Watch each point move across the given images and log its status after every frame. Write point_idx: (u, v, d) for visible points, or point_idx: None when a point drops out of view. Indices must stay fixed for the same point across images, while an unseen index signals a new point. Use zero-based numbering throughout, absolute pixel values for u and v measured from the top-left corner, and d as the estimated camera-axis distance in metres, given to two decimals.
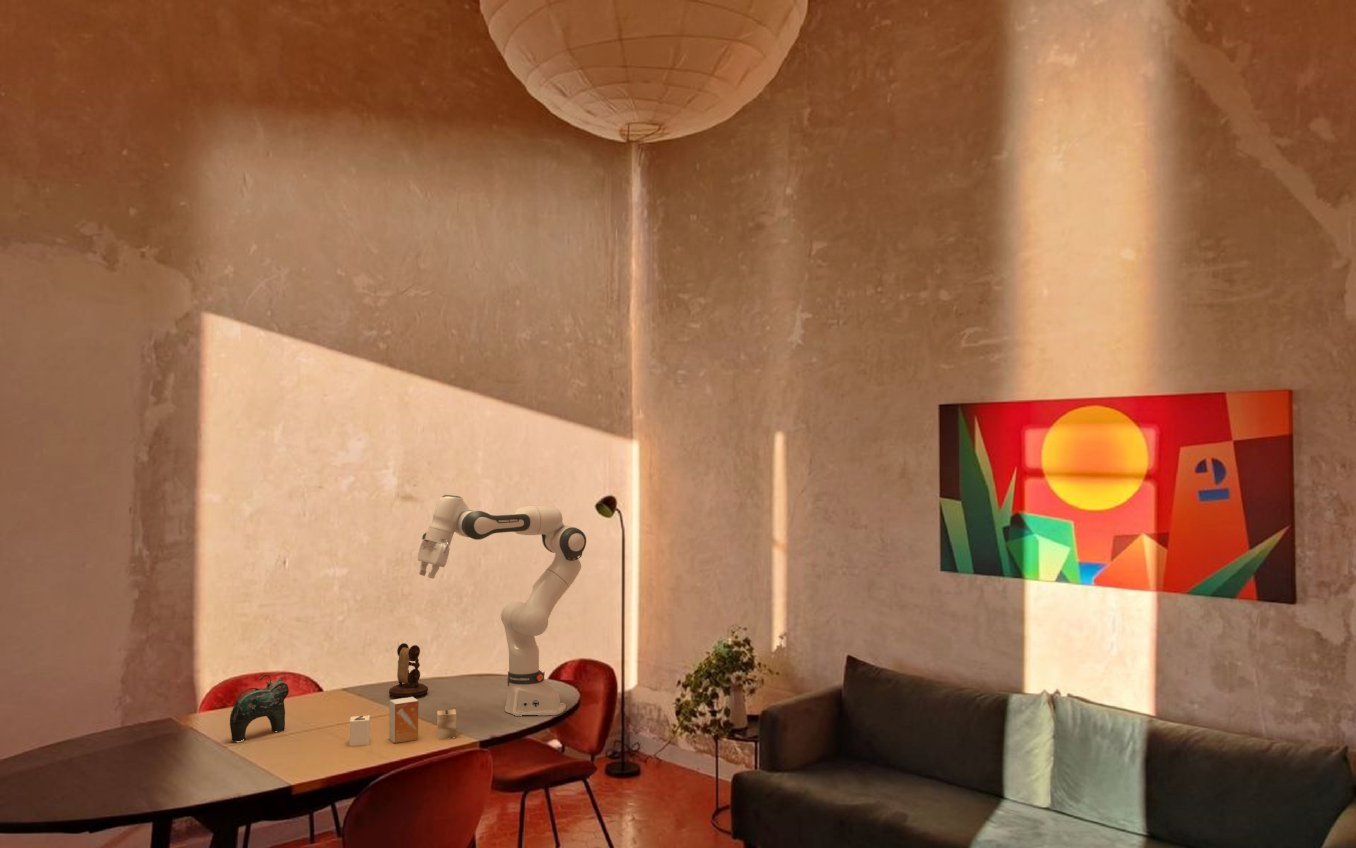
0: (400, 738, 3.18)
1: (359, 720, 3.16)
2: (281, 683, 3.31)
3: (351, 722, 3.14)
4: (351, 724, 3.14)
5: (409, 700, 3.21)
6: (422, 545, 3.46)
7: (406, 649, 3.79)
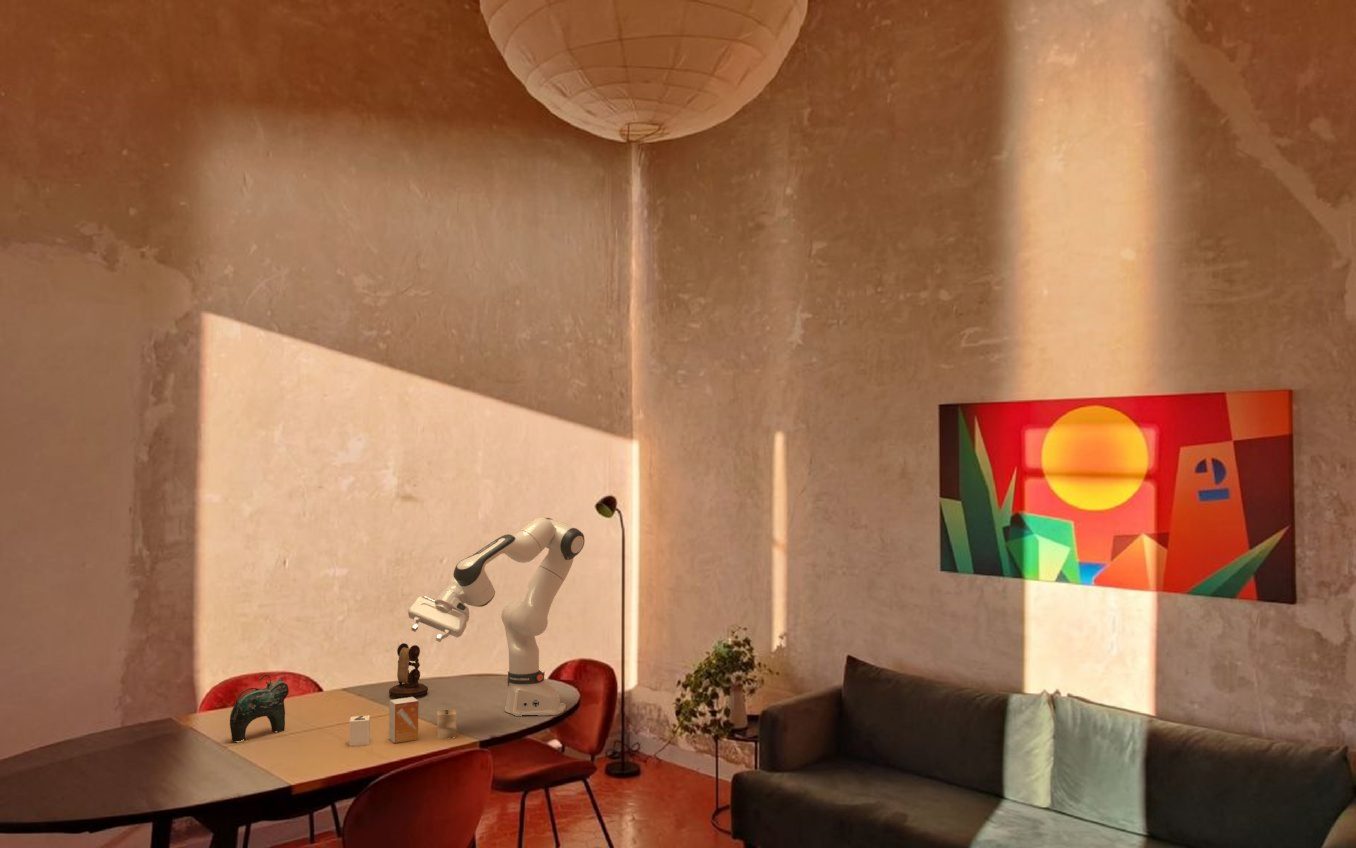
0: (400, 738, 3.18)
1: (359, 720, 3.16)
2: (281, 683, 3.31)
3: (351, 722, 3.14)
4: (351, 724, 3.14)
5: (409, 700, 3.21)
6: None
7: (406, 649, 3.79)
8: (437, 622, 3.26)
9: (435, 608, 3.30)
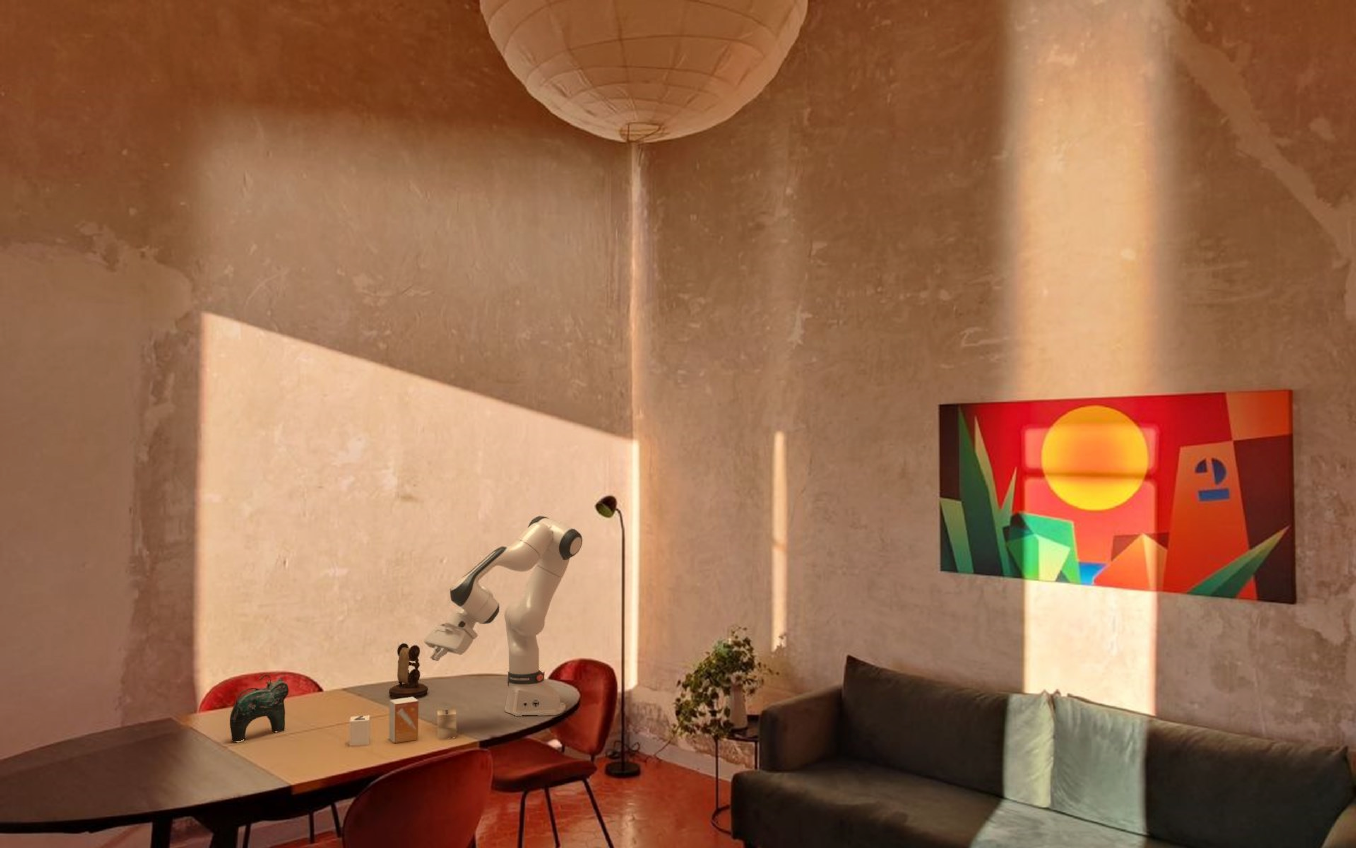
0: (400, 738, 3.18)
1: (359, 720, 3.16)
2: (281, 683, 3.31)
3: (351, 722, 3.14)
4: (351, 724, 3.14)
5: (409, 700, 3.21)
6: None
7: (406, 649, 3.79)
8: (442, 644, 3.30)
9: (445, 632, 3.35)
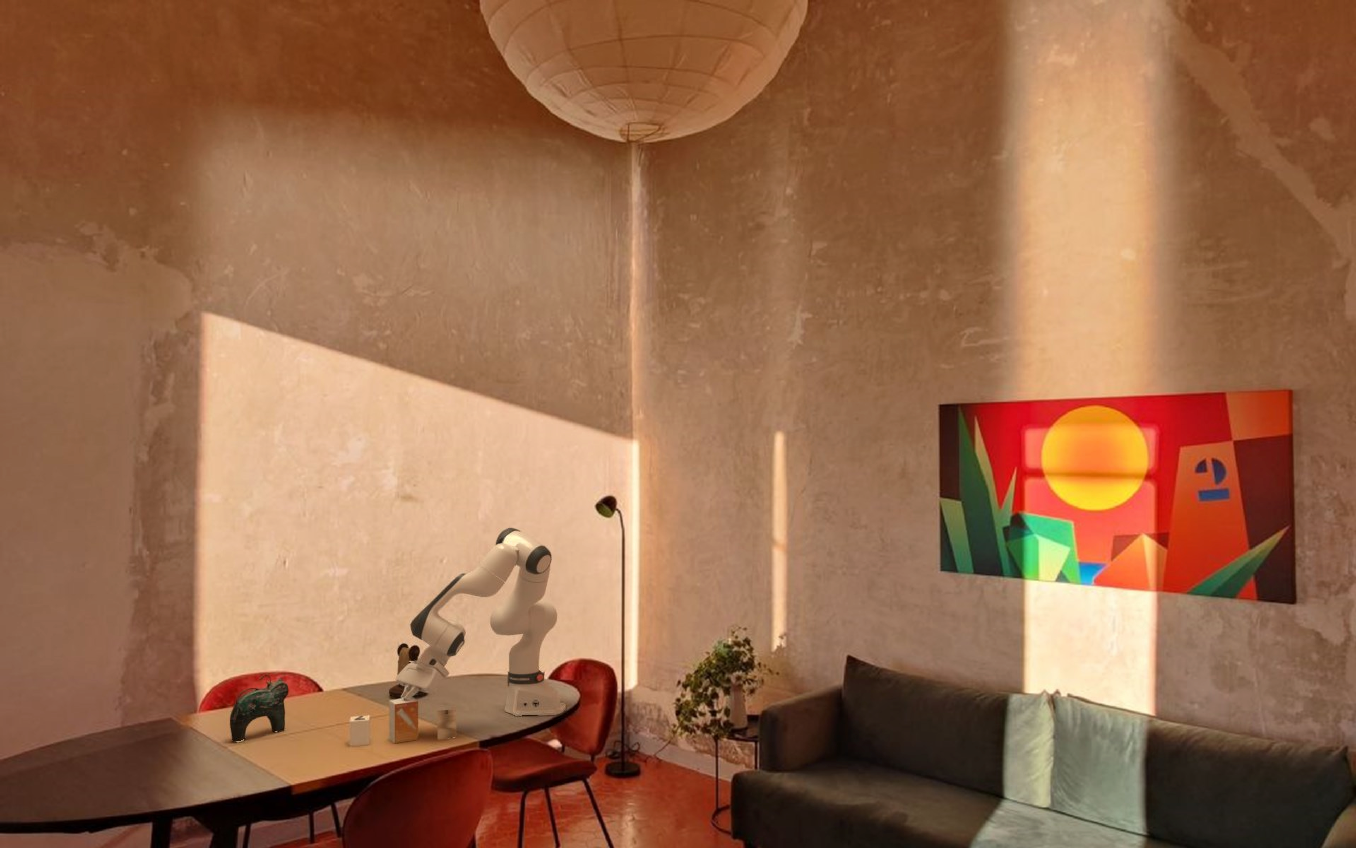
0: (400, 738, 3.18)
1: (359, 720, 3.16)
2: (281, 683, 3.31)
3: (351, 722, 3.14)
4: (351, 724, 3.14)
5: (409, 700, 3.21)
6: None
7: (406, 649, 3.79)
8: (413, 683, 3.22)
9: (416, 670, 3.27)
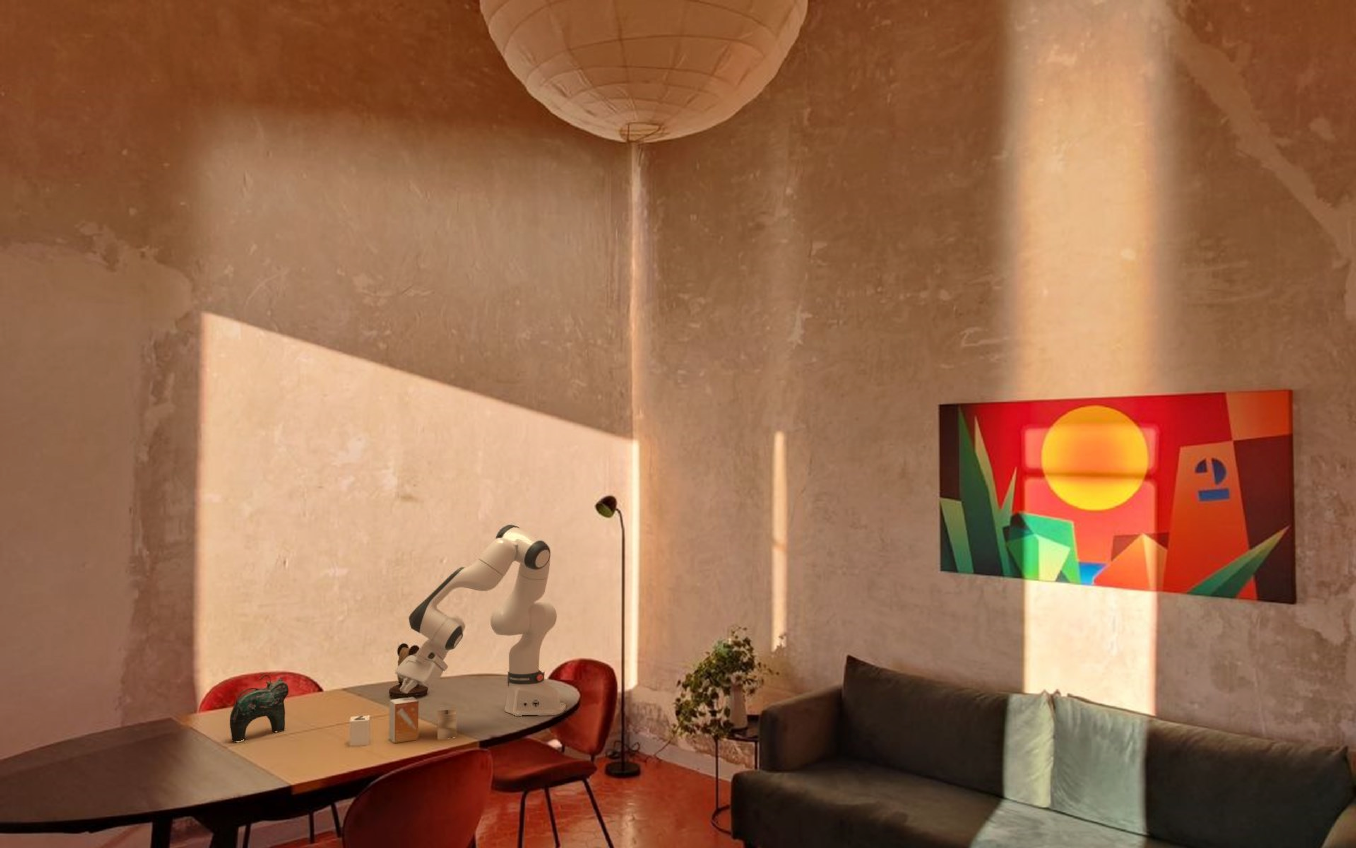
0: (400, 738, 3.18)
1: (359, 720, 3.16)
2: (281, 683, 3.31)
3: (351, 722, 3.14)
4: (351, 724, 3.14)
5: (409, 700, 3.21)
6: None
7: (406, 649, 3.79)
8: (411, 676, 3.23)
9: (415, 663, 3.28)
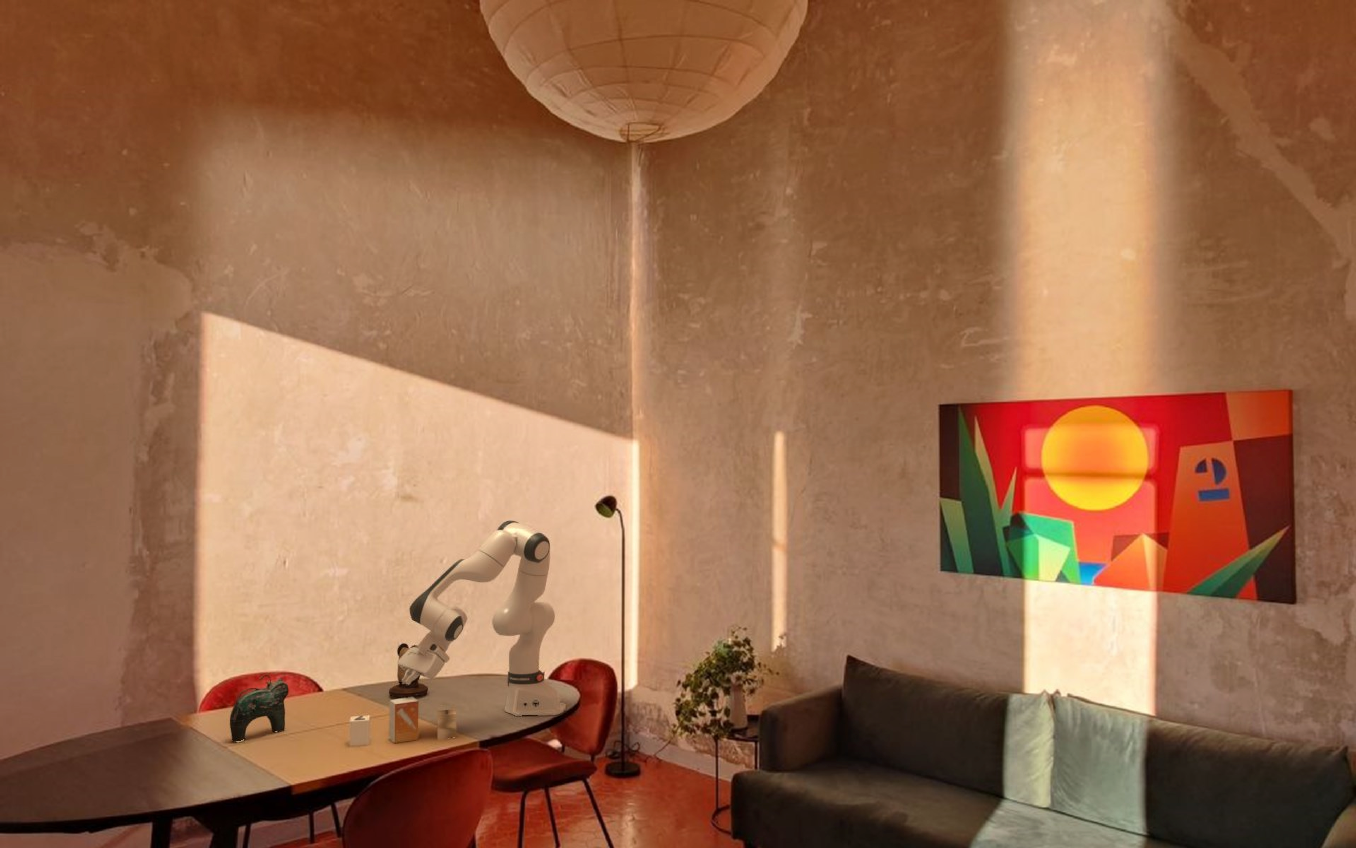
0: (400, 738, 3.18)
1: (359, 720, 3.16)
2: (281, 683, 3.31)
3: (351, 722, 3.14)
4: (351, 724, 3.14)
5: (409, 700, 3.21)
6: None
7: (406, 649, 3.79)
8: (413, 668, 3.24)
9: (417, 654, 3.30)
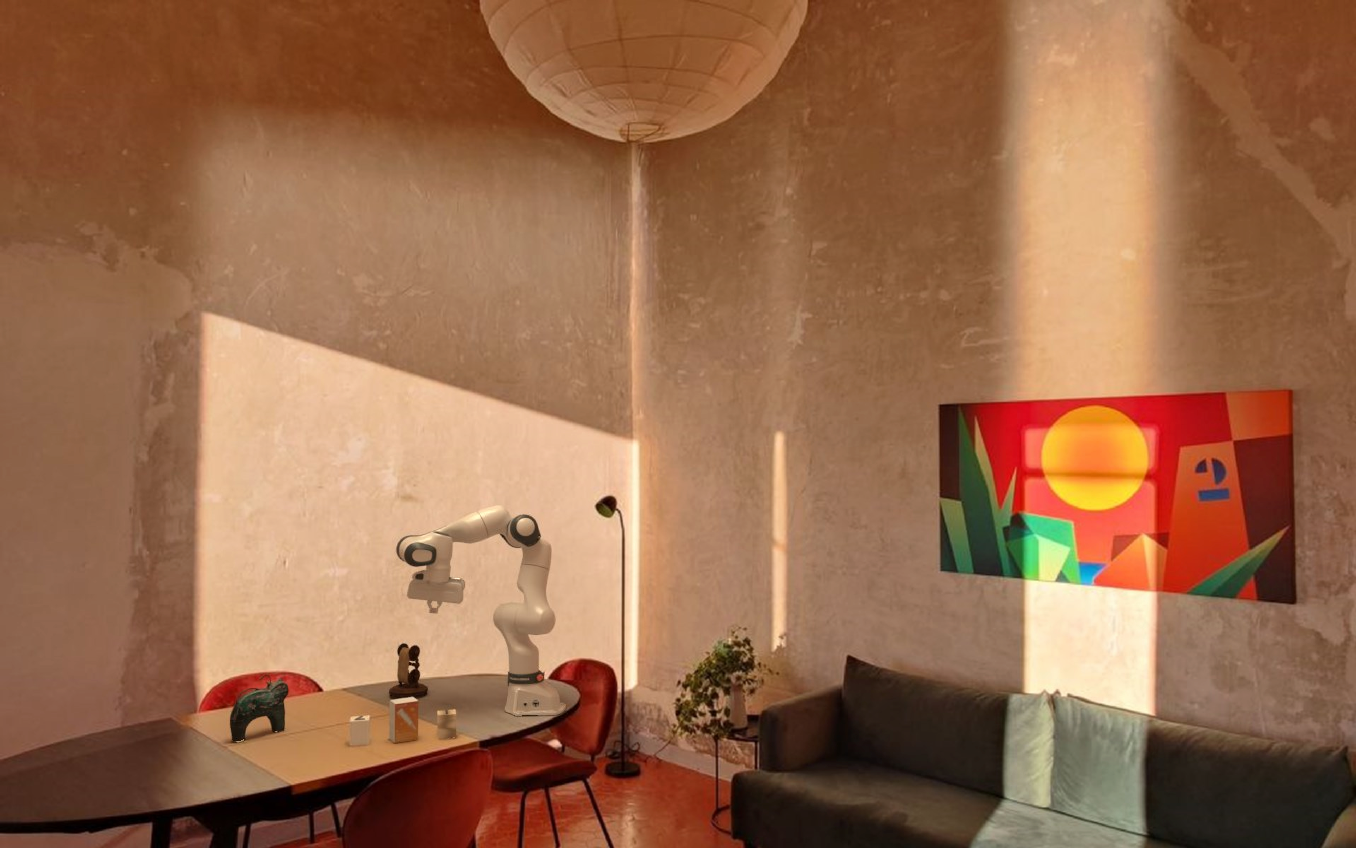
0: (400, 738, 3.18)
1: (359, 720, 3.16)
2: (281, 683, 3.31)
3: (351, 722, 3.14)
4: (351, 724, 3.14)
5: (409, 700, 3.21)
6: (413, 584, 3.54)
7: (406, 649, 3.79)
8: None
9: None
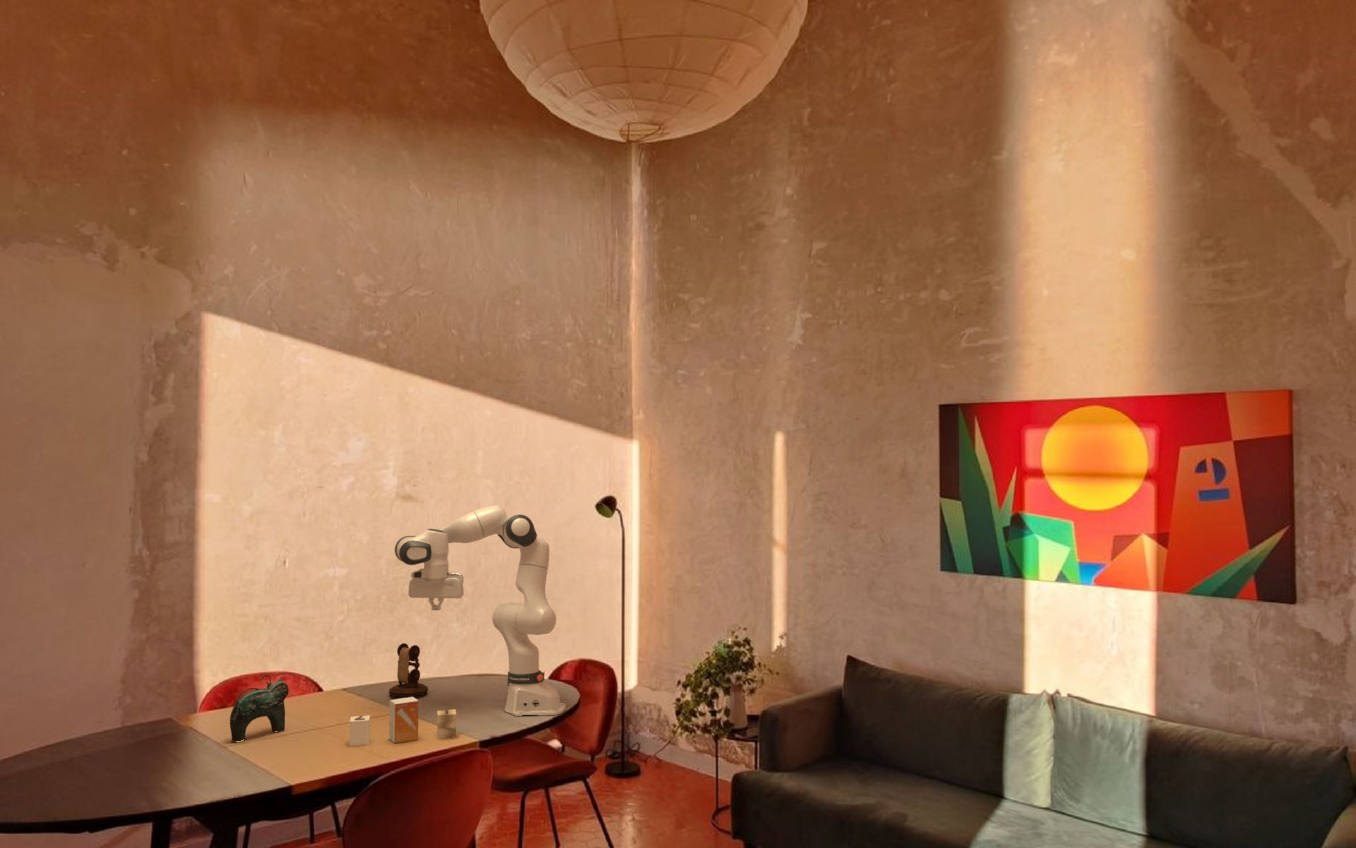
0: (400, 738, 3.18)
1: (359, 720, 3.16)
2: (281, 683, 3.31)
3: (351, 722, 3.14)
4: (351, 724, 3.14)
5: (409, 700, 3.21)
6: (413, 583, 3.56)
7: (406, 649, 3.79)
8: None
9: None
